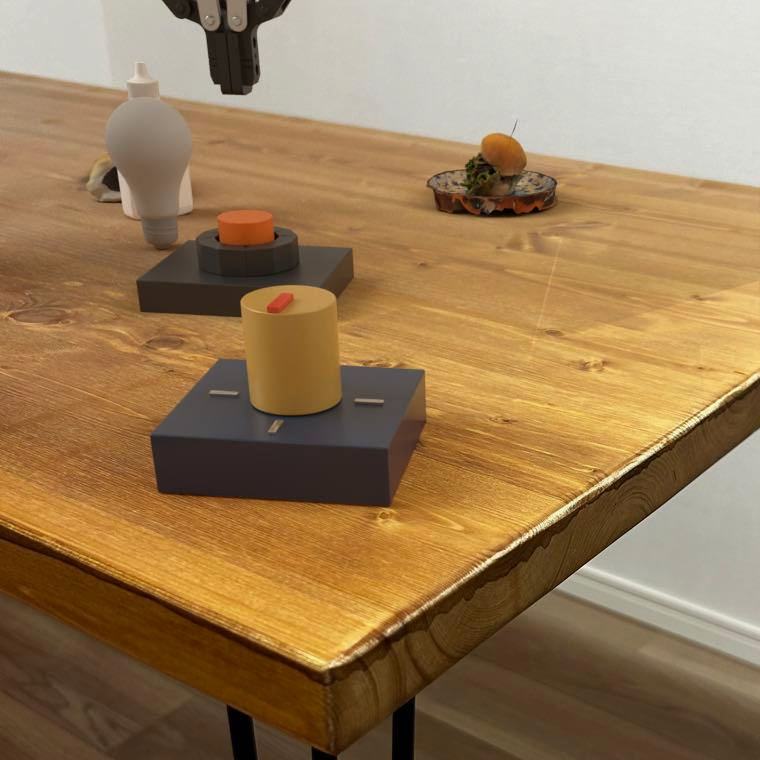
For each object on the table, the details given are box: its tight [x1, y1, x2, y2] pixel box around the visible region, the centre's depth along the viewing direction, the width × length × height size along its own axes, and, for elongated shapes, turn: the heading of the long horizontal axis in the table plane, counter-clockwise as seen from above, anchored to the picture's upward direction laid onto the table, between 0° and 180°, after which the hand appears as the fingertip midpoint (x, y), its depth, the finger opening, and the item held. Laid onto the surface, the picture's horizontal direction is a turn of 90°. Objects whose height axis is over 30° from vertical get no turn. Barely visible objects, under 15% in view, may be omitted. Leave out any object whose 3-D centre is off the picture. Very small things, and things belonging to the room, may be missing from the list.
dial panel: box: [149, 357, 427, 508], centre depth 59 cm, size 11×10×3 cm
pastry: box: [85, 153, 122, 203], centre depth 107 cm, size 9×7×4 cm
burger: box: [425, 118, 559, 215], centre depth 106 cm, size 12×12×8 cm
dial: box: [241, 285, 342, 415], centre depth 57 cm, size 4×4×5 cm
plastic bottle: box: [117, 61, 194, 221], centre depth 97 cm, size 4×6×12 cm
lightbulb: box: [104, 97, 194, 250], centre depth 89 cm, size 6×6×11 cm
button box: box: [135, 225, 355, 318], centre depth 81 cm, size 12×10×4 cm
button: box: [216, 209, 275, 245], centre depth 80 cm, size 4×4×2 cm
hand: (236, 92), depth 76 cm, fingers closed
